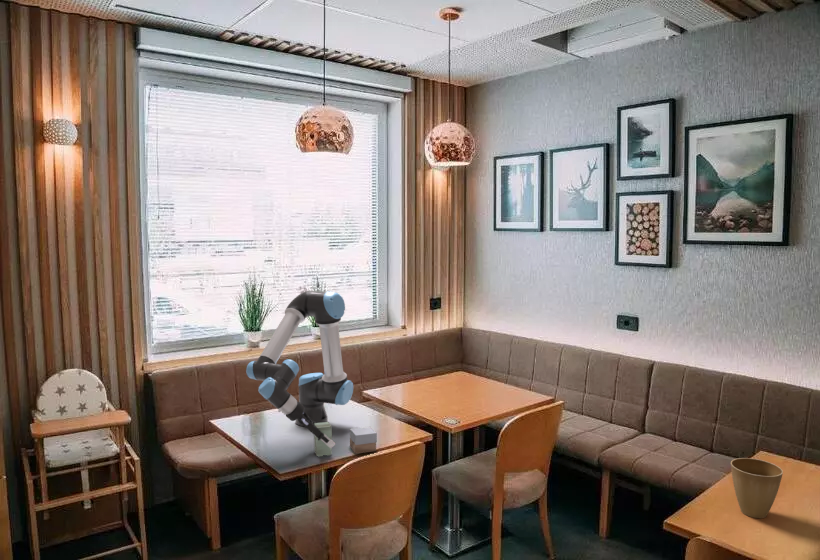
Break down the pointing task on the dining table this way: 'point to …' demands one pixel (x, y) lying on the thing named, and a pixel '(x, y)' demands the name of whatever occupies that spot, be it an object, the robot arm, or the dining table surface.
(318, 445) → the sage block
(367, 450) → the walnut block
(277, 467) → the dining table surface
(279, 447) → the dining table surface
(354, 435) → the slate block
